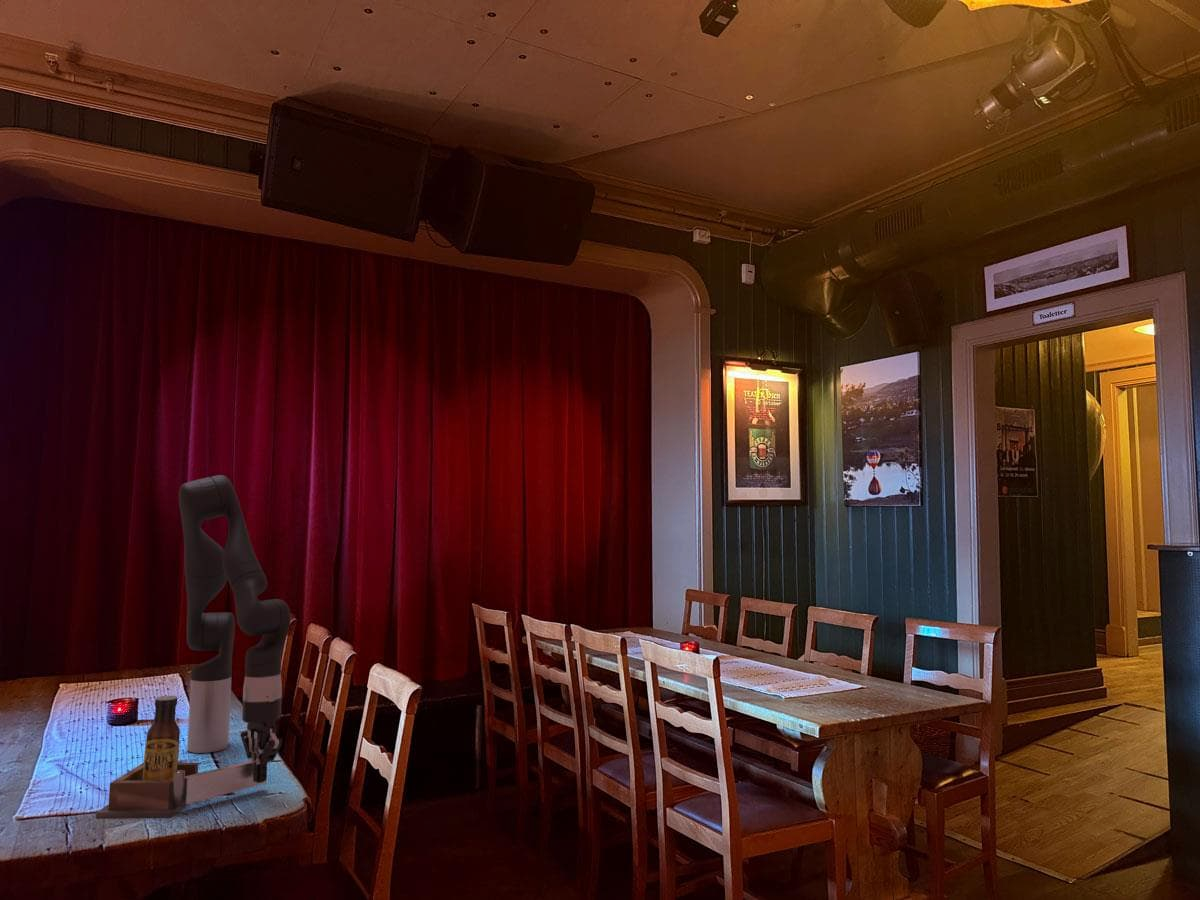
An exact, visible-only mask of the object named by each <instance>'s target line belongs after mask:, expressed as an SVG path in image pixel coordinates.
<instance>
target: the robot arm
mask: <svg viewBox="0 0 1200 900" xmlns="http://www.w3.org/2000/svg"><path fill="white" fill-rule="evenodd" d="M232 483H233V482H232V481H231V480H230V479H229V477H227V476H225V475H224V474H223V475H222V474H217V475H212V476H209V477H203V478H199V479H195V480H191V481H188V482H185V483H183V484H181V485H180V487H179V488H178V489H179V490H178V505H179V511H180V513H179V514H180V520H181V526H182V533H183V543H184V544H183V545H184V546H183V548H184V549H183V550H184V552H183V554H184V556H183V557H184V579H185V580H184V581H185V589H186V591H185V592H186V605H187V606H186V628H185V629H186V630H185V631H186V634H185V635H186V644H187V646H188V648H189V649H190V650H192V651H201V652H203V651H218V654H217V655H216V656H214V657H213V658H210V659H209V660H207V661H205V662H201V663H199V664H196V665H194V666H193V667H192V668H191V669H190V670H191V671H190V686H189V707H188V708H189V709H188V723H187V724H188V728H187V729H188V731H187V747H186V748H187V752H190V753H194V754H196V753H197V754H206V753H207V754H208V753H215V752H218V751H222V750H224V749H227V748H228V747H229V737H230V736H229V735H230V717H231V716H230V715H231V696H232V695H231V693H232V673H233V665H232V664H233V653H234V652H233V650H234V641H235V632H236V622H237V625H238V627H239V628H240V630H241V631H242V632H243V633H244V634H246V635H247V636H250V637H251V636H252V637H253V636H260V635H262V636H261V639H260V641H259V642H258V643H257V644H255V645H253V646H251V647H249V648H248V649H247V651H246V653H245V659H244V660H245V661H244V662H245V663H244V667H245V668H244V681H243V687H242V712H241V716H242V718H241V719H242V721H243V722H244V723H247V725H246V728H247V729H246V730H245V731H241V732H240V739H241V741H242V745H243V748H244V751H245V754H246V757H247V760H248V759H249V760H250V759H251V760H250V761H252V763H254V767H253V781H254V782H257V783H261V782H264V781H266V782H267V778H268V763H270V762H273V761H275V758H276V757H277V755H278V752H279V751H280V749H281V747H282V745H283V738H278V737H277V736H276V733H277V727H276V721H277V720H279V719H280V718H281V716H282V698H283V697H282V692H283V691H282V689H283V688H282V687H283V684H282V683H283V682H282V673H281V672H282V652H283V650H284V647H285V644H286V640H287V636H288V633H289V629H290V625H291V620H292V617H291V616H292V615H291V611H290V610H291V609H290V608H289V605H288V604H287V602H286V601H284V599H283V600H282V599H278V598H272V599H264V600H259V598H258V596H259V595H261V594H262V593H263V592H264V591H265V590H266V589H267V587H268V579H267V577H266V575H265V573H264V571H263V568H262V566H261V564H260V562H259V560H258V558H257V556H256V553H255V550H254V548H253V544H252V541H251V539H250V535H249V532H248V528H247V524H246V521H245V518H244V515H243V512H242V508H241V505H240V501H239V498H238V495H237V493H236V489H235V487H234V486H233V484H232ZM223 516H225V517H226V520H227V524H228V532H227V536H226V540H225V541H226V542H225V544H224V548H223V547H222V546H221V545H220V544H219V543H218V542H217V541H215V540H214V539H213V538H211V537H210V536H209V535H208V534H207V533H206V532H205V531H204V530H203V529H202V527H201V526H202V522H204V521H208V520H213V519H215V518H220V517H223ZM227 581H228V583H229V585H230V588H231V591H232V593H233V599H234V605H235V606H234V607H235V616H236V620H235V616H234V614H233V613H232V612H229V611H228V612H227V611H226V612H224V611H223V612H204V611H205V609H206V608H207V606H208V605H209V604H210V603H211V601H213V599H215V598H216V597H217V596H218V595H219V593H220V592H221V591H222V590H223V589H224V587H225V585H226V584H227Z"/></svg>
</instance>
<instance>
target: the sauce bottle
mask: <svg viewBox="0 0 1200 900" xmlns="http://www.w3.org/2000/svg"><path fill="white" fill-rule="evenodd" d="M177 704H178V697H177V695H176V696H175V695H164V696H163V695H162V696H158V697H156V698H155V701H154V707H155V710H154V717H153V719H154V720H153V723H152V724H151V726H150V727H149V729H148V730H147V732H146V741H145V746H144V754H143V755H144V758H143V763H144V767H143V777H142V781H173V774H174V771H176V770H177V767H178V763H179V753H180V743H181V742H180V737H181V733H180V732H181V731H180V726H179V725H178V724H177V722H176V710H177V709H176V708H177ZM172 793H173V790H172Z"/></svg>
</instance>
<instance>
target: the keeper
mask: <svg viewBox="0 0 1200 900" xmlns="http://www.w3.org/2000/svg"><path fill="white" fill-rule="evenodd" d="M253 767H254V763H252V761H251V760H248V761H244V762H240V763H236V764H231V765H227V766H223V767H219V768H214V769H211V770H206V771H202V772H198V773H197V774H193V775H189V776H185V770H176V771H174V774H173V793H172V807H180V806H183V803H184V804H187V805H189V804H192V803H193V804H194V803H196V802H201V801H204V800H208V799H212V798H216V797H220V796H223V795H226V794H227V795H228V794H231V793H235V792H238V791H242V790H246V789H249V788H253V787H256V786H260V785H264V784H267V780H266V781H264V782H261V783H257V782H254V781H253Z"/></svg>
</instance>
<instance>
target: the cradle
mask: <svg viewBox="0 0 1200 900" xmlns="http://www.w3.org/2000/svg"><path fill="white" fill-rule="evenodd" d="M143 767H144V762H142V763H141V764H139V765H137V766H135V767H134V768H132V769H131V770H129V771H127V772H126V773H124V774H122V775H121V776H118V777H117V778H116V779H114V780H112V781H110V783H109V795H108V804H107V805H105V806H104V807H102V808H101V809H99V810H98V811H96V812H95V819H96V818H97V819H105V818H106V819H114V818H115V819H121V818H122V819H125V818H127V819H128V818H131V819H134V818H136V819H138V818H139V819H141V818H142V819H144V818H147V819H148V818H156V819H159V818H166V819H167V818H168V819H169V818H172V817H173V816H174V815H175V814H177V813H178V812H179V811H181V810H182V809H183V808H184V807H186V806H187V805H188V804H184V803H183V806H180V807H172V790H173V781H142V777H143ZM177 770H185V776H189V775H193V774H197V773H199V762H178V767H177Z"/></svg>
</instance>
